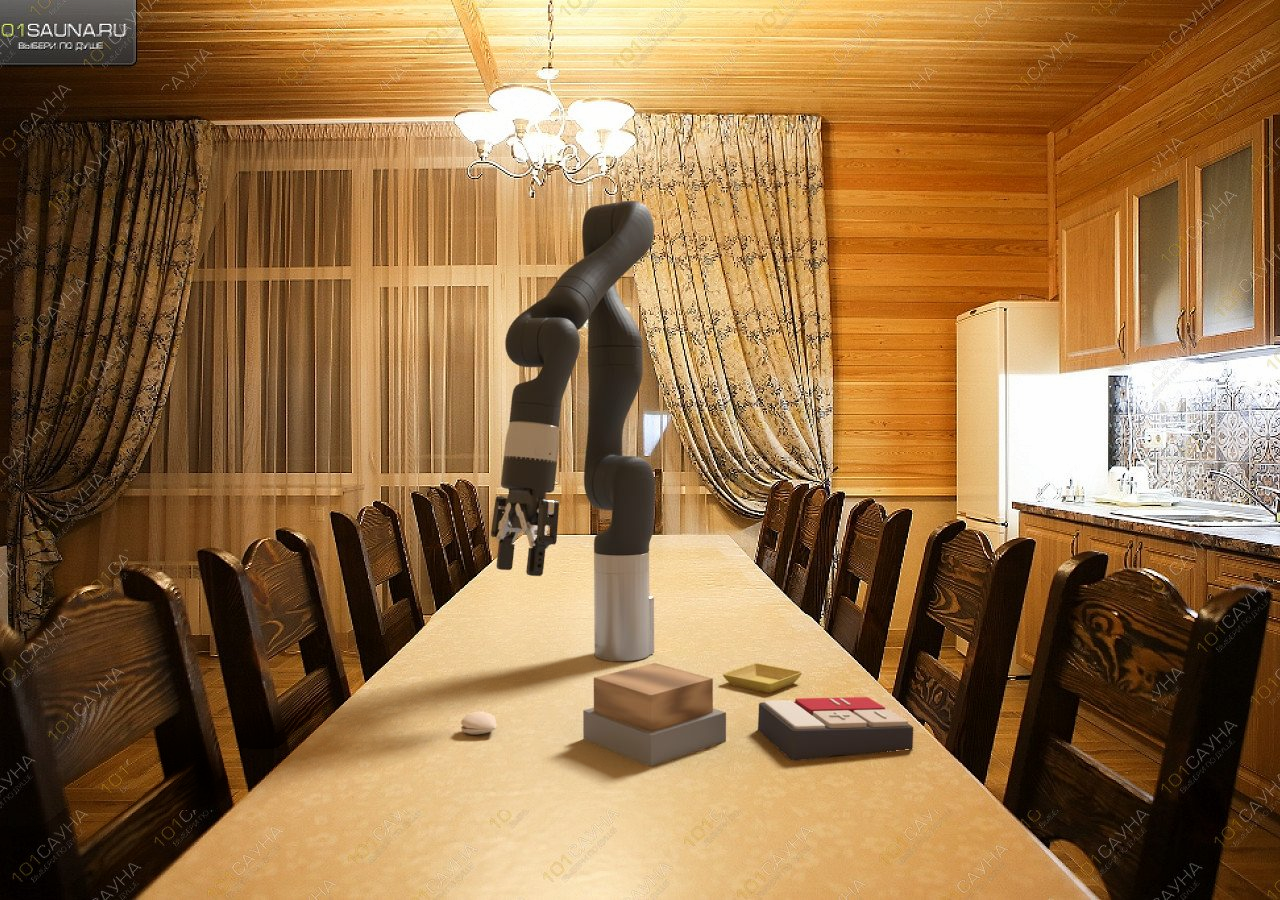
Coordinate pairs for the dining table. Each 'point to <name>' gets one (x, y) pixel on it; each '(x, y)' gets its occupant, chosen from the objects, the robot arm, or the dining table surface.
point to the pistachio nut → (478, 723)
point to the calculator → (832, 727)
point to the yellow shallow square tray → (762, 677)
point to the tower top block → (653, 696)
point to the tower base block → (654, 736)
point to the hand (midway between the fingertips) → (518, 572)
